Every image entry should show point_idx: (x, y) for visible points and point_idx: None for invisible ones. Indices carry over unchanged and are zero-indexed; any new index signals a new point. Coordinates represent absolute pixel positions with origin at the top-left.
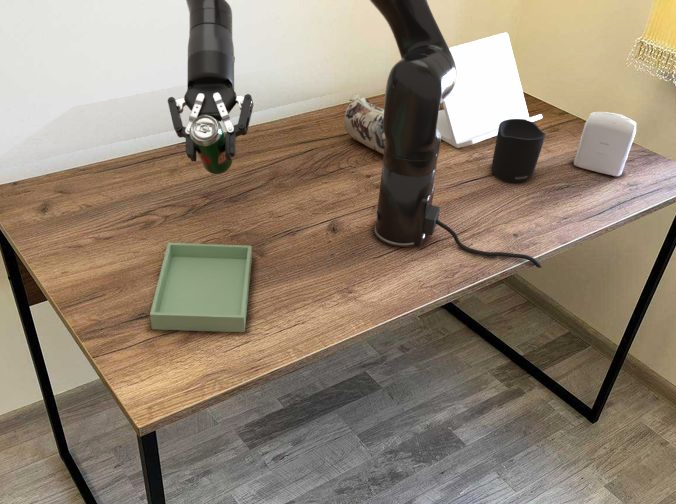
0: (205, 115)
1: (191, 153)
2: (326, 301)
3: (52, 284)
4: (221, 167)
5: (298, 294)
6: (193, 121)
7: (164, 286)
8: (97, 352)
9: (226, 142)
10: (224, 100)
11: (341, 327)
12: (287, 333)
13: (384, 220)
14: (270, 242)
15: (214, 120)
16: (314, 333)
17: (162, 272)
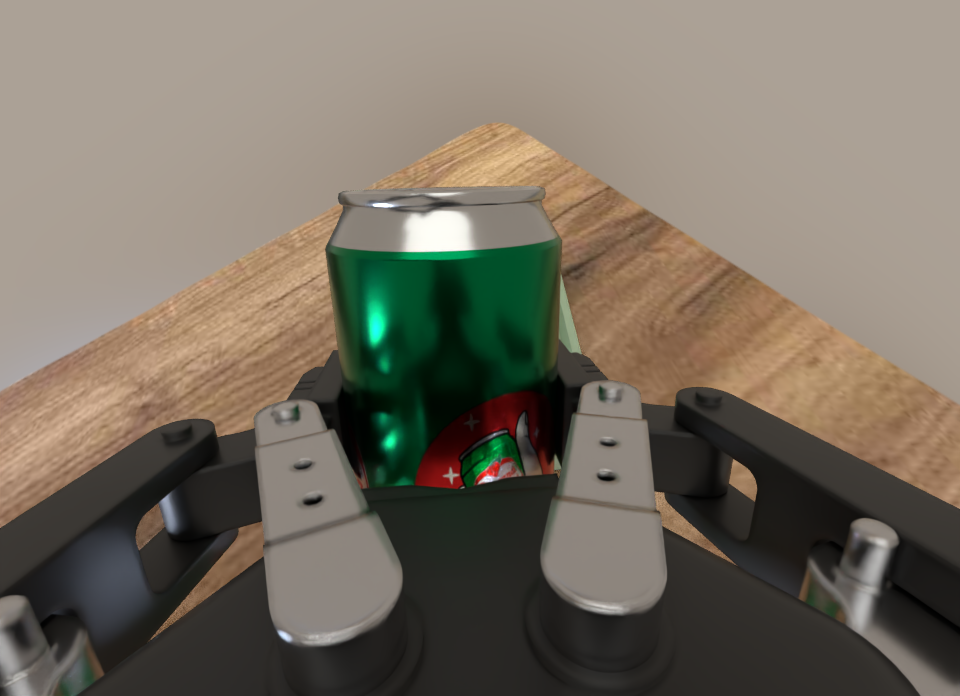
0: (435, 191)
1: None
2: (207, 369)
3: (808, 322)
4: None
5: (265, 380)
6: (531, 188)
7: (561, 337)
8: (611, 194)
9: (339, 371)
10: (246, 629)
11: (196, 305)
12: (300, 276)
13: None
14: None
15: (359, 192)
16: (250, 284)
17: (569, 328)
